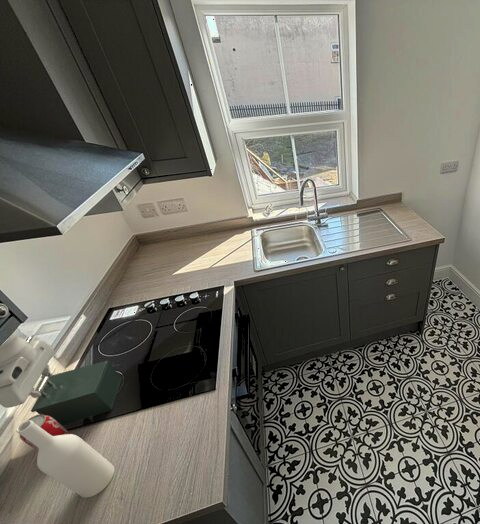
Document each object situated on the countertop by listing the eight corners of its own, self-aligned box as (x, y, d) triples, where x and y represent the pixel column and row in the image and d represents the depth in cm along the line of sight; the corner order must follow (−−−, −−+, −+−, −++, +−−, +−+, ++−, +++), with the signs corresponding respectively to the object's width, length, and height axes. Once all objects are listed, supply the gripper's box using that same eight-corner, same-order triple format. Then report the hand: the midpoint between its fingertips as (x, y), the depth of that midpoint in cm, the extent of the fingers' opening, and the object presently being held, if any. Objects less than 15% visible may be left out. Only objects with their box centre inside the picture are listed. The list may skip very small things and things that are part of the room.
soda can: (74, 443, 89) (49, 423, 82) (44, 462, 85) (15, 443, 78) (70, 427, 93) (46, 407, 86) (41, 445, 89) (14, 425, 82)
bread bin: (55, 427, 93) (35, 411, 87) (71, 393, 103) (54, 376, 97) (112, 410, 97) (96, 393, 91) (122, 378, 107) (108, 362, 101)
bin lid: (32, 412, 87) (21, 403, 84) (51, 377, 97) (42, 368, 94) (96, 393, 91) (87, 384, 88) (108, 361, 101) (101, 353, 98)
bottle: (94, 502, 76) (14, 450, 59) (72, 492, 78) (-12, 440, 61) (121, 468, 83) (56, 412, 66) (100, 459, 85) (31, 404, 68)
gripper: (19, 335, 90) (47, 363, 98) (-25, 393, 74) (13, 420, 82) (44, 329, 92) (69, 357, 100) (6, 384, 76) (40, 412, 84)
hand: (43, 386), depth 91 cm, fingers closed on bin lid, 5 cm apart
